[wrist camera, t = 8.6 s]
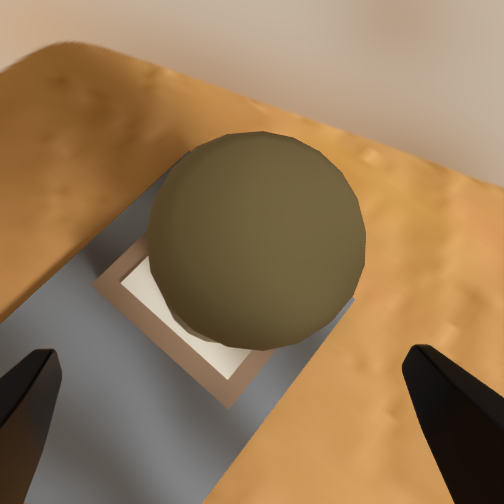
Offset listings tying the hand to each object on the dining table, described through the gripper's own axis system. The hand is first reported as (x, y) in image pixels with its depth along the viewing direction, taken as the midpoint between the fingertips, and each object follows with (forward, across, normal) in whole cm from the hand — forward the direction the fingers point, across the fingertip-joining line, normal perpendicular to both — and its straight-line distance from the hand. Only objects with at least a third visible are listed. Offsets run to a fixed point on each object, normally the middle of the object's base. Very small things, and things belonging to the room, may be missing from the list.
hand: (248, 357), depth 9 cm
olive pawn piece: (+8, 0, +4) cm, 9 cm away
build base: (+8, +3, +8) cm, 12 cm away
